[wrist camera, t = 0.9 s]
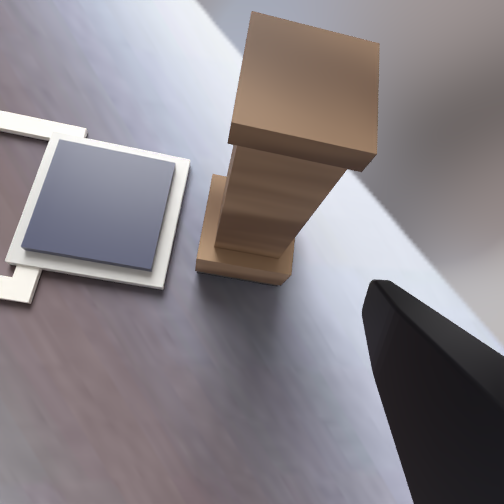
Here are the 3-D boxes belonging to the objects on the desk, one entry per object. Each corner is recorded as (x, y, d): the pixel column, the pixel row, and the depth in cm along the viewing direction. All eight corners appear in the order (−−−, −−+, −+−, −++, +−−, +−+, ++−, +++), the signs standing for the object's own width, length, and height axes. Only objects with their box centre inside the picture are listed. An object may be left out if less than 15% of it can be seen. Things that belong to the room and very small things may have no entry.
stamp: (278, 288, 24) (393, 172, 11) (194, 273, 23) (210, 133, 10) (286, 212, 26) (394, 35, 13) (209, 197, 25) (237, -5, 12)
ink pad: (163, 289, 23) (162, 285, 22) (9, 264, 22) (-1, 257, 21) (190, 164, 26) (190, 154, 24) (55, 137, 25) (49, 125, 24)
